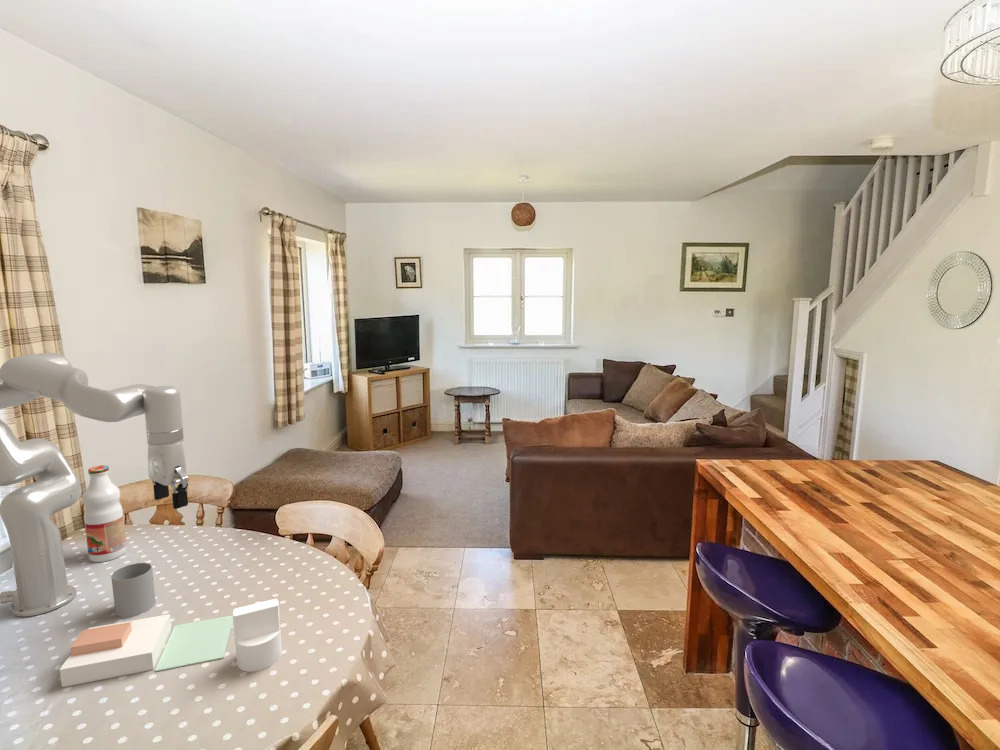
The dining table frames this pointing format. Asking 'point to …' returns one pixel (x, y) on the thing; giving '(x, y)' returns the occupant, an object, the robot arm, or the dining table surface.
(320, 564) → the dining table surface
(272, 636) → the cylinder with rectangular tab
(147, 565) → the cup
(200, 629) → the mat
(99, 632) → the tile
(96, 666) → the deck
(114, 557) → the fruit juice
